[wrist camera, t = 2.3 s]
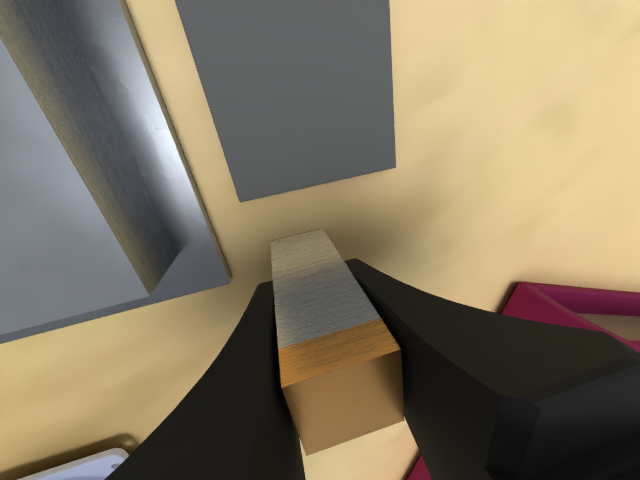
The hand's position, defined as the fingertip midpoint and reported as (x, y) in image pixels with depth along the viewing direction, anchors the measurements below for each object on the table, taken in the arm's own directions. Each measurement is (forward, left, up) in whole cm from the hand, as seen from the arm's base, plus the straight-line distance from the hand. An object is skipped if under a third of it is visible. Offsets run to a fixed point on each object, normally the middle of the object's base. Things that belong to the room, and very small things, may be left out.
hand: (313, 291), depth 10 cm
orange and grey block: (0, 0, -3) cm, 3 cm away
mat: (+8, -1, -3) cm, 9 cm away
